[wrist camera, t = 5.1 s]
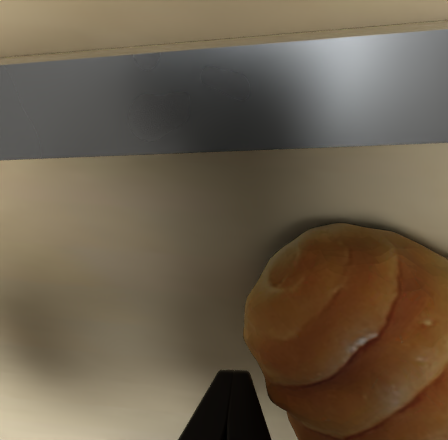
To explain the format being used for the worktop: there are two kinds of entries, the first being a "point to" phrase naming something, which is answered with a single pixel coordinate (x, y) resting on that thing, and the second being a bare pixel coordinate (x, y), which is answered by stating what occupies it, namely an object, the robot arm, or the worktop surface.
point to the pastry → (354, 335)
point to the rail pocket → (230, 94)
